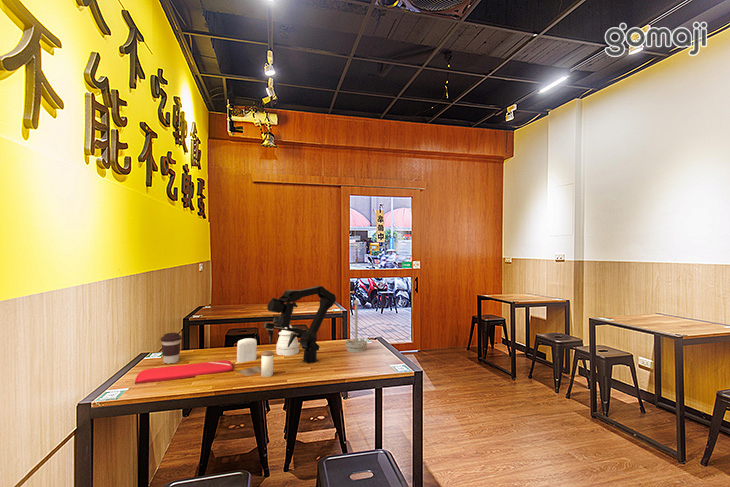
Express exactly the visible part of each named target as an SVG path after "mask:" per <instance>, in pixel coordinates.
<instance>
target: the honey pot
mask: <svg viewBox="0 0 730 487" xmlns="http://www.w3.org/2000/svg"><path fill="white" fill-rule="evenodd" d="M285 328H286V327H285ZM290 328H293V326H292V325H291V324H290ZM291 333H292V332H291V331H286V330H280V331H279V332H278V335H279V336H278V340H277V342H276V349H275V350H276V351H275V352H276V353H275V354H276V355H278V356H282V355H283V356H287V357H288V356H294V355H298V354H299V353H300V350H299V349H300V342H299V341H298V337H297V336H296V337H295V339H294V340H293V341H292V343H291V344H290V346H289V347H288V343H289V339H290V336H291Z"/></svg>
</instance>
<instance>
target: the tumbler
mask: <svg viewBox="0 0 730 487" xmlns="http://www.w3.org/2000/svg"><path fill="white" fill-rule="evenodd" d="M260 361H261V362H260V363H261V364H260V367H261V373H260V376H261V377H263V378H268V377H272V376H273V375H274V351H273V350H264V351H261V360H260Z"/></svg>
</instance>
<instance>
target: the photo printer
mask: <svg viewBox="0 0 730 487" xmlns="http://www.w3.org/2000/svg"><path fill="white" fill-rule="evenodd" d="M257 344H258V343H257V339H256V338H252V337H250V338H249V337H248V338H243V339H240V340H238V341H237V344H236V362H237V363H245V362H252V361H256V360H257V351H258V350H257V349H258V348H257V347H258V346H257Z"/></svg>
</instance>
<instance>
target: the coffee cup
mask: <svg viewBox="0 0 730 487" xmlns="http://www.w3.org/2000/svg"><path fill="white" fill-rule="evenodd" d="M182 338H183V336H182V335H181V334H179V333H178V332H169V333H165V334H164V335H163V336H161V337H160V341H161V350H162V351H161V352H162V353H161V354H162V361H163V364H165V363H167V364H168V365H170V363H172V364H175V363H178V362H179V360H180V359H179V358H180V352H181V340H182Z"/></svg>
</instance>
